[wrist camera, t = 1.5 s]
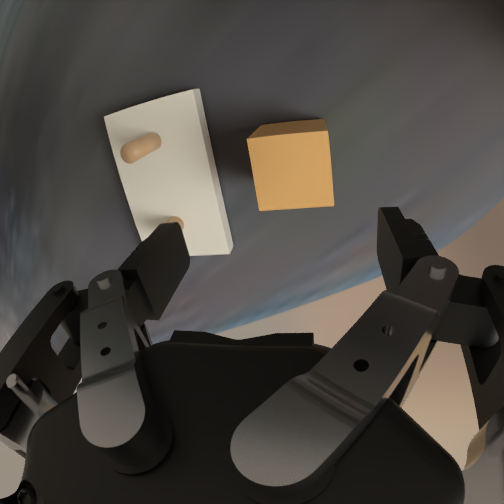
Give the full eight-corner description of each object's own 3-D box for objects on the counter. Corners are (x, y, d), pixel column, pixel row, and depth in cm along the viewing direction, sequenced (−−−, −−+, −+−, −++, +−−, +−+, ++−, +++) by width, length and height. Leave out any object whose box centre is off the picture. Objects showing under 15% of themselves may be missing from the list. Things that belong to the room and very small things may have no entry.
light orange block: (323, 118, 22) (327, 130, 17) (329, 177, 24) (334, 206, 19) (261, 125, 23) (246, 138, 18) (270, 182, 26) (259, 211, 21)
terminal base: (199, 88, 22) (171, 92, 18) (233, 245, 30) (218, 279, 25) (112, 113, 24) (75, 126, 20) (153, 250, 32) (130, 280, 27)
